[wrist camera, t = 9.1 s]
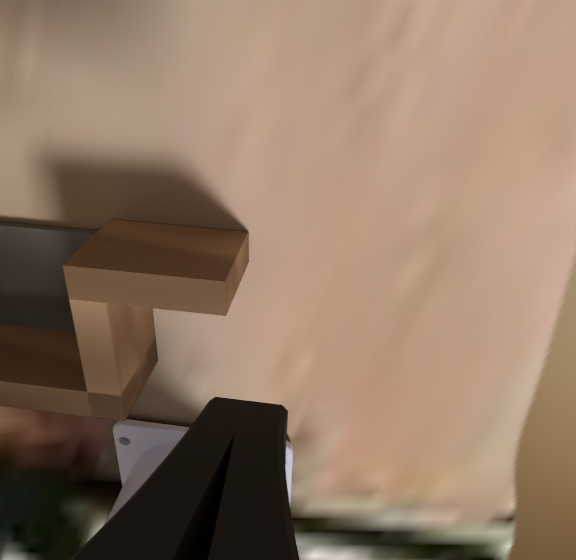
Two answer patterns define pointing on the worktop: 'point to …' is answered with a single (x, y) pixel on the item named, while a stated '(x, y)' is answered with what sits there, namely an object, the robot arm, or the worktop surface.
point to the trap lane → (101, 307)
